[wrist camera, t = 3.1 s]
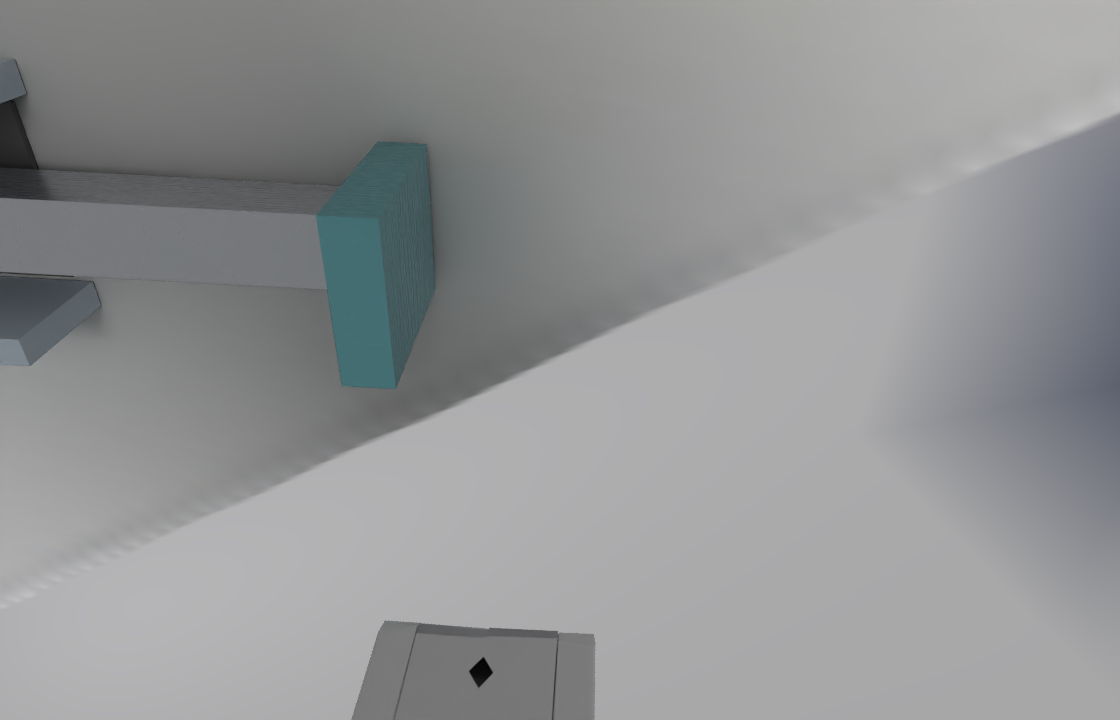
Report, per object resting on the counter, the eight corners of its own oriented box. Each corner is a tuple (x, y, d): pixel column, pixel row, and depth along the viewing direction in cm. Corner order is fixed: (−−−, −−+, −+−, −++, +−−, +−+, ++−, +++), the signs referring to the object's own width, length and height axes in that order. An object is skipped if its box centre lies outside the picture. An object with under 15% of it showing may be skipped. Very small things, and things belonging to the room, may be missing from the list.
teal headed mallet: (-122, 257, 25) (-300, 349, 20) (-199, 110, 22) (-428, 175, 17) (435, 288, 25) (395, 388, 20) (426, 144, 22) (378, 218, 17)
